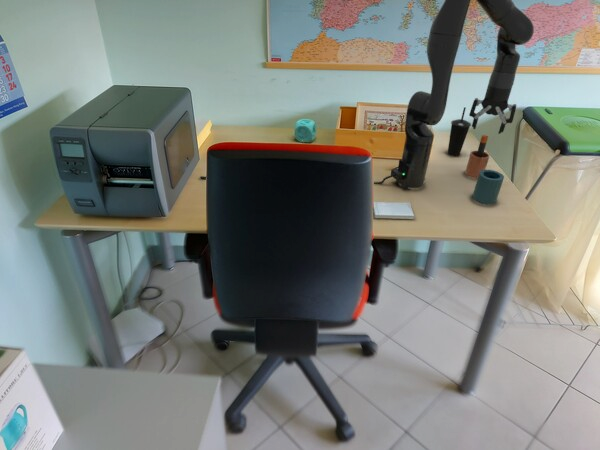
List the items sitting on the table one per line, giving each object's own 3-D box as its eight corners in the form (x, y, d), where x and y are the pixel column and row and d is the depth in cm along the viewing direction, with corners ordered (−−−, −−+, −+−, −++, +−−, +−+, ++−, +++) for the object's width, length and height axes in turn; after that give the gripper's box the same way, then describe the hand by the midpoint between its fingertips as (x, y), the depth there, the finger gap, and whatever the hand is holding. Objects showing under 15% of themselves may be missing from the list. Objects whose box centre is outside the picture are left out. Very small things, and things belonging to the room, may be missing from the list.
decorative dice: (315, 137, 185) (316, 120, 181) (311, 143, 179) (312, 126, 175) (299, 135, 187) (299, 118, 183) (294, 141, 181) (294, 124, 176)
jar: (482, 208, 136) (491, 181, 130) (467, 197, 142) (474, 171, 136) (500, 203, 138) (509, 177, 133) (484, 193, 144) (492, 168, 138)
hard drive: (409, 202, 135) (372, 201, 136) (414, 215, 129) (375, 214, 129) (408, 206, 136) (371, 205, 137) (413, 220, 130) (374, 218, 130)
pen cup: (473, 181, 152) (479, 159, 147) (461, 173, 157) (466, 152, 152) (486, 178, 154) (493, 156, 149) (474, 170, 159) (480, 149, 154)
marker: (474, 175, 154) (484, 137, 145) (470, 172, 156) (480, 135, 147) (478, 174, 155) (489, 136, 146) (474, 172, 156) (485, 134, 148)
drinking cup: (460, 150, 175) (472, 104, 163) (464, 158, 168) (477, 111, 157) (442, 149, 175) (453, 104, 164) (446, 157, 169) (457, 110, 158)
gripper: (476, 84, 136) (464, 130, 145) (522, 90, 130) (507, 138, 140) (479, 79, 141) (467, 124, 150) (524, 85, 136) (509, 131, 145)
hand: (486, 130), depth 145 cm, fingers open, 8 cm apart
